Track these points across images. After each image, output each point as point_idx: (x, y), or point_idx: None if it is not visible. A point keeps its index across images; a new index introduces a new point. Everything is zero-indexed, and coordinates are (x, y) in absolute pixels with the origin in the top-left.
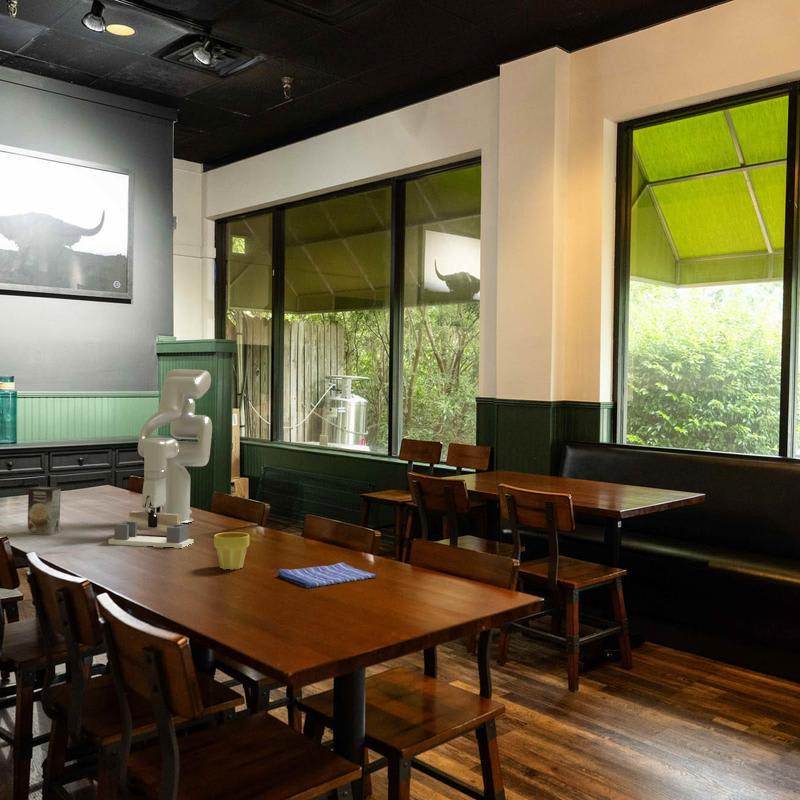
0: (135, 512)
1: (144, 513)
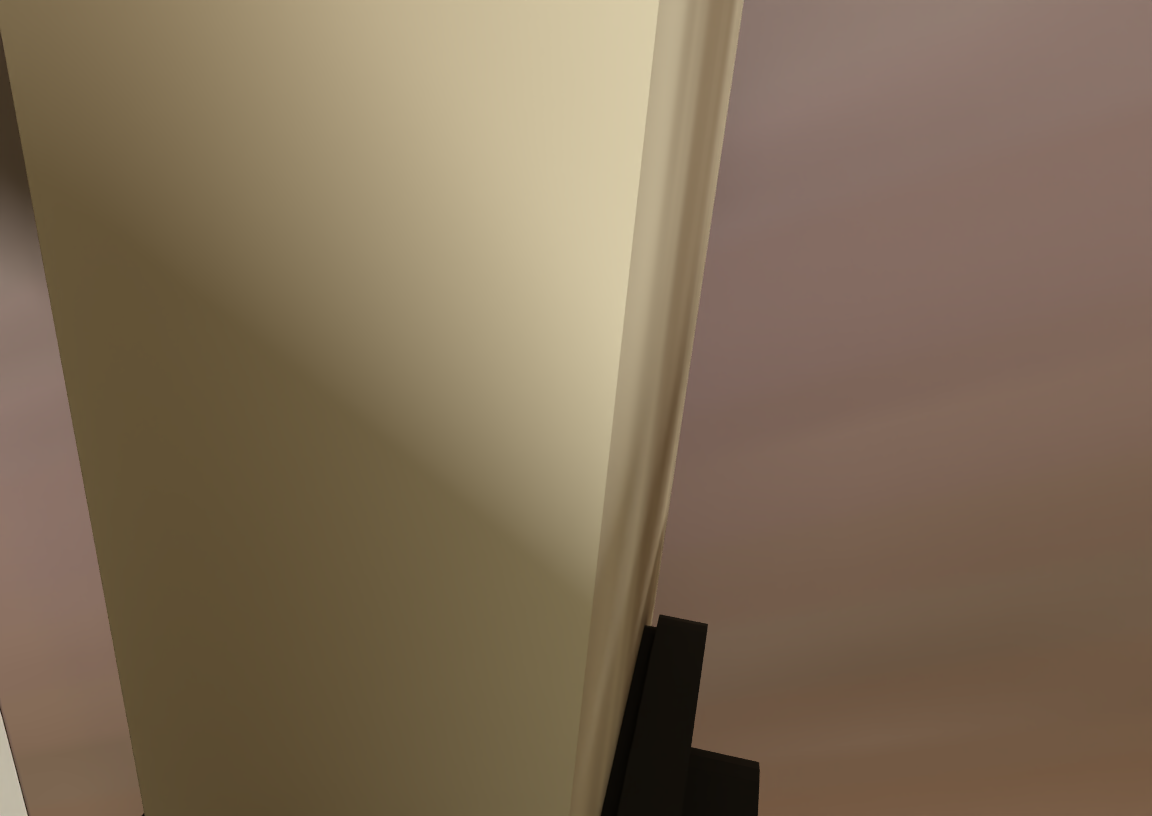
0: (160, 122)
1: (142, 771)
